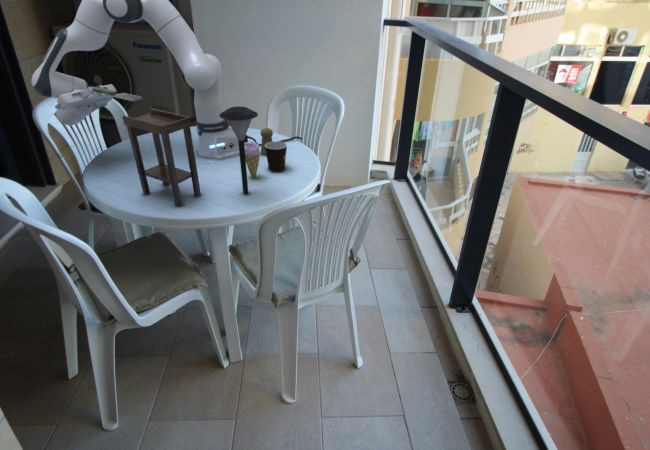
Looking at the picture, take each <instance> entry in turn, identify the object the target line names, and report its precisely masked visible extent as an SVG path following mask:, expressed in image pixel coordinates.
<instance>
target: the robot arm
mask: <svg viewBox="0 0 650 450" xmlns="http://www.w3.org/2000/svg"><path fill="white" fill-rule="evenodd" d="M115 21H116V22H118V23H121V24H127V23H128V24H133V23H138V22H140V21H145V22H147V23H148V25H150V26H151V28H152V29H153V30H154V31H155V33H156V34H157V35H158V37H159V38H160V39H161V41H162V42H163V43H164V45H165V46H166V47H167V49H169V51H170V53H171V54H172V56H173V58H174V59H175V61H176V63H177V64H178V67H179V68H180V70H181V72H182V73H183V76H184V79H185V81H186V83H187V85H188V86H189V87H190V88H192V89H193V90H194V97H193V105H194V111H195V112H194V113H195V118H196V119H195V127H196V133H197V137H198V145H197V152H196V153H197V155H198V156H200V157H203V158H208V159H216V160H224V159H227V158H231V157H235V156H240V154H239V143H238V139H237V137H236V135H235V133H234V132H233V130H232V128H231V126H230V124H229V123H228V121H227V120H225V119H222V118H220V116H219V115H220V114H221V113H222V112H224V109H223V107H224V106H223V78H222V65H221V61H220V59H218V57H216V56H215V55H214V54H211V53H204V50H203V49H202V48H201V45H200V43H199V41H198V39H197V36H196V34H195V33H194V31H193V30H192V29H191V27H190V25H189V24H188V23H187V21H186V20H185V19H184V18H183V16H182V14H180V12H179V11H178V10H177V8H176V7H175V6H174V5H173V4H172V2H171V1H170V0H81V2H80V4H79V6H78V9H77V11H76V14H75V17H74V19H73V22H72V23H71V24H70V25H69V26H68V27H66V28H61V29H60V30H59V31H58V32H57V33H56V34H55V36H54V38H53V39H52V41H51V42H50V45H49V46H48V49H47V51H46V52H45V54H44V56H43V57H42V60H41V61H40V63H39V65H38V66H37V68H36V69H35V70H34V72H33V74H32V76H31V87H32V88H33V90H34V91H35V92H36V93H38V95H39V96H42V97H47V98H54V99H57V100H56V102H57V104H55V105H54V108H55V110H56V111H55V117H56V119H57V120H58V121H59V122H60V123H62V124H64V125H66V126H76V125H78V124H80V123H81V122H82V121H84V120H85V119H86V117H88V116H89V115H90V114H93V113H94V112H95V111H97V110H100V109H102V108H104V107H107V106H108V104H109V102H111V101H112V100H113V99H114V98H116V97H115V96H112V95H107V94H103V93H98V92H95V89H94V87H98V88H103V89H108V90H112V91H117V89H116V87H115V86H114V85H113V84H111V83H109V84H105V85H102V84H98V85H96V86H94V87H92V86H90V84H88V82H87V81H86V80H85V79H83V78H81V77H76V76H74V75H70V74H66V73H64V72H63V73H62V72H60V71H56V70H57V68H58V66H59V64H60V62H61V61H62V59H63V57H64V55H65V54H68V53H70V52H76V51H77V52H79V51H83V52H91V51H93V52H94V51H98V50H100V49H103V47H105V45H106V43H107V41H108V39H109V36H110V33H111V29H112V27H113V24H114V22H115ZM249 139H250V140H252V141H253V143H254V142H256V144H257V143H258V142H257V140H256V138H254V137H252V136H250V135H248V134H246V136H245V138H244V147H245V146H246V143H247V142H249ZM295 139H298V140H300V141H301V140H303V138H302V137H301V136H292V137H289V138H284V139H282V140H278V141H277V140H276V141H277V142H284V143H285V142H288V141H293V140H295ZM258 144H259V147H261V144H262V143H258Z"/></svg>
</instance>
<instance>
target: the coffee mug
mask: <svg viewBox="0 0 650 450" xmlns="http://www.w3.org/2000/svg"><path fill="white" fill-rule="evenodd" d="M287 147H288V145H287V142H285V141H284V142H277V140H276V141H273V142H269V143H266V144H265V150H266V156H265V157H266V160H267V161H266V162H267V167H268V170H269V171H270V172H271V173H282V172H284V171H285V170H286V159H287Z"/></svg>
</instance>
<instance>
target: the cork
mask: <svg viewBox="0 0 650 450" xmlns="http://www.w3.org/2000/svg"><path fill="white" fill-rule="evenodd" d="M273 135H274V131H273V130H272V129H271V128H267V127H266V128H262V129H261V130H260V136H261V143H260V144H261V146H260V155H261V156H264V157H267V156H266V150H265V144H266V143H269V142H274V141H273Z"/></svg>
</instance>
